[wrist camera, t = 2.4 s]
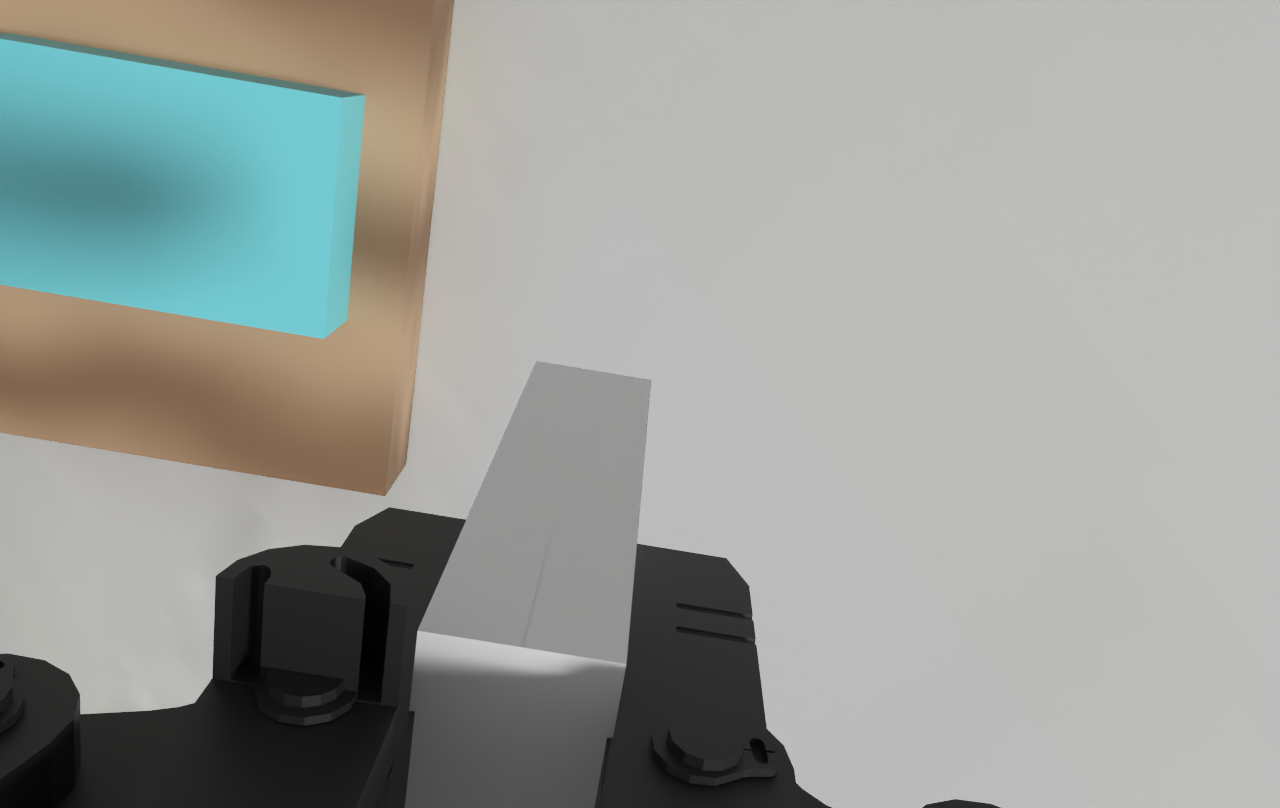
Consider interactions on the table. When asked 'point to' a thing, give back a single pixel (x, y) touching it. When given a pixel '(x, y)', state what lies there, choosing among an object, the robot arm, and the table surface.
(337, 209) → the turquoise flat block
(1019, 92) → the table surface
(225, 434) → the wooden board
